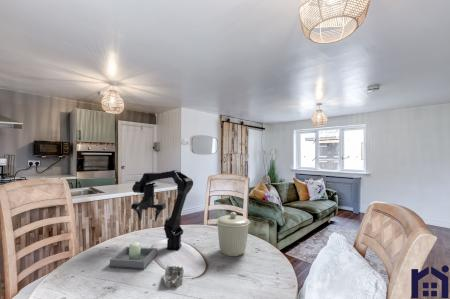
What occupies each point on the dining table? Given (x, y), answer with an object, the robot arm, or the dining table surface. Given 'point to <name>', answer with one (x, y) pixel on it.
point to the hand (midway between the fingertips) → (148, 220)
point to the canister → (232, 234)
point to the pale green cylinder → (134, 251)
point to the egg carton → (173, 276)
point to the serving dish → (123, 260)
